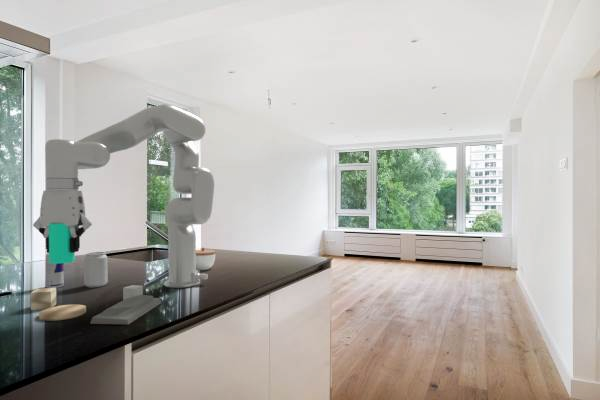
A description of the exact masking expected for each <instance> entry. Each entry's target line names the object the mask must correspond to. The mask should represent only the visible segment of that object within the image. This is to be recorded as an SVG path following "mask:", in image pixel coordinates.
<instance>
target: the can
mask: <svg viewBox="0 0 600 400" xmlns="http://www.w3.org/2000/svg"><path fill="white" fill-rule="evenodd" d="M83 266H84V267H83V272H84V273H83V275H84V277H83V279H84V280H83V283H84V286H85V287H87V288H100V287H104V286H106V284H108V283H109V279H108V256H107V254H106V251H92V252H87V253H85V257H83Z"/></svg>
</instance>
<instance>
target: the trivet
mask: <svg viewBox="0 0 600 400" xmlns="http://www.w3.org/2000/svg"><path fill="white" fill-rule="evenodd" d="M86 313H87V306H86V305H83V304H63V305H57V306H56V305H55V306H53V307H51V308H48V309H41V310H40V311H39V312H38V319H39V320H40V321H45V322H51V321H52V322H55V321H64V320H70V319H74V318H78V317H80V316H83V315H84V314H86Z"/></svg>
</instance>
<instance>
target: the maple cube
mask: <svg viewBox="0 0 600 400" xmlns="http://www.w3.org/2000/svg"><path fill="white" fill-rule="evenodd" d="M56 305H57V288H47V287H44V288H36V289H35V290H33V291H31V292H30V310H31V311H35V310H45V309H48V308H51V307H55V306H56Z"/></svg>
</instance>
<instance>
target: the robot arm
mask: <svg viewBox="0 0 600 400" xmlns="http://www.w3.org/2000/svg"><path fill="white" fill-rule="evenodd" d="M160 132H162V133H163V136H164V138H165V139H166V140H167V142H168V143H169V145H170V146H171V147H172V150H173V152H174V168H173V177H172V188H173V190H174V191H175V192H176V193H178V194H181V195H191V196H190V197H176V198H173V199H171V200H169V201H168V203H167V204H166V206H165V209H164V211H165V213H164V215H165V220H166V223H167V232H168V233H167V235H168V237H167V238H168V240H167V241H168V279H167V280H165V281H164V282H163V283H164V285H163V286H164V287H166V288H173V289H174V288H175V289H177V288H180V289H181V288H189V287H195V286H198V285H200V284H201V280H208V278H209V277H208V276H209V275H208V273H199V270H197V269H196V249H197V247H196V246H197V244H196V243H197V242H196V239H197V236H196V232H195V231H196V230H195V228H194V226H193V225H203V224H205V223H207V222H208V221H209V219H210V218H211V215H212V210H213V205H214V204H213V203H214V202H213V201H214V195H215V194H214V192H215V180H214V175H213V174H212V172H211V171H210V170H209V169H208V168H205V167H200V166H199V165H200V164H199V163H200V156H199V155H200V154H199V151H198V148H197V147H196V146H195V144H194V143H193V142H197V141H200V140H201V139H203V138H204V137H205V133H206V126H205V124H204V122H203V119H201V118H200V117H198V116H197V115H194V114H193V113H191V112H188V111H185V110H183V109H181V108H178V107H176V106H174V105H171V104H166V103H165V104H160V105H155V106H154V105H153V106H150V107H149V106H148V107H147V108H144V109H142V110H140V111H139V112H136V113H134V114H132V115H131V116H128V117H127V118H125V119H122V120H121V121H119V122H117V123H115V124H112V125H110V126H107V127H106V128H103V129H100V130H99V131H97V132H94V133H92V134H90V135H87V136H85V137H83V138H81V139H79V140H77V141H73V140H69V139H62V138H61V139H60V138H59V139H58V138H57V139H56V138H55V139H53V138H52V139H48V140H47V141H46V142H45V147H44V155H45V156H44V157H45V159H44V160H45V190H43V192H42V195H41V196H42V197H41V200H40V207H39V209H40V210H39V213H40V214H39V217H38V218H37V220H35V222H33V224H32V226H33V228H35V229H36V230H38V232H39V233H40V234H41V235H42V236H43V238H45V249H46V254H47V253H49V224H65V226H67V227H69V229H70V232H71V235H72V238H70V252H71V253H73V252H75V253H76V252H79V250H80V247H81V246H80V245H81V244H80V242H81V241H80V240H81V239H80V237H82V236H83V234H84V233H85V232H86V231H87V230H88V229H89V228H90V227H91V226H92V224H93V223H92V222H91V221H90V220H89V218H87V217H86V207H85V200H84V196H83V191H82V190H79V187H83V184H84V182H83V181H81V180H79V171H78V170H89V169H90V170H93V169H99V168H102V167H104V166H106V165H107V164H108V163H109V161H110V159H111V154H113V153H117V152H121V151H126V150H128V149H129V150H130V148H134V147H136V146H138V145H139V144H141V143H143V142H144V141H145V140H148V139H150V138H151V137H153V136H155V135H156V134H158V133H160Z"/></svg>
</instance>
